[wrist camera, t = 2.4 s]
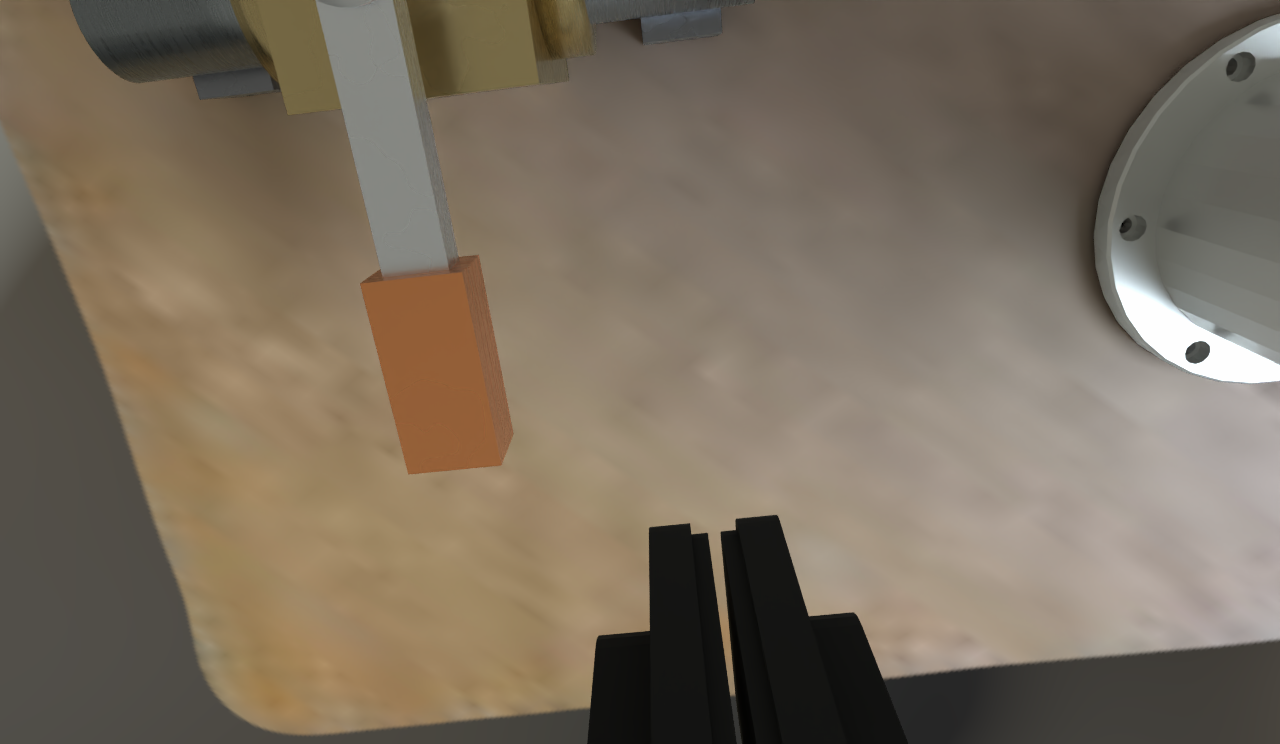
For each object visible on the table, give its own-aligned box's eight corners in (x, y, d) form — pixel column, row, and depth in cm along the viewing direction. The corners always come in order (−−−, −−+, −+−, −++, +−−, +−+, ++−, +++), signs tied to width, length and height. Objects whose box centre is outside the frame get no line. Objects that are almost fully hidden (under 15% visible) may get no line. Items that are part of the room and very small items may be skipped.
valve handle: (290, -113, 17) (248, -134, 15) (408, -130, 16) (380, -153, 15) (424, 442, 21) (404, 474, 20) (517, 433, 21) (505, 464, 19)
